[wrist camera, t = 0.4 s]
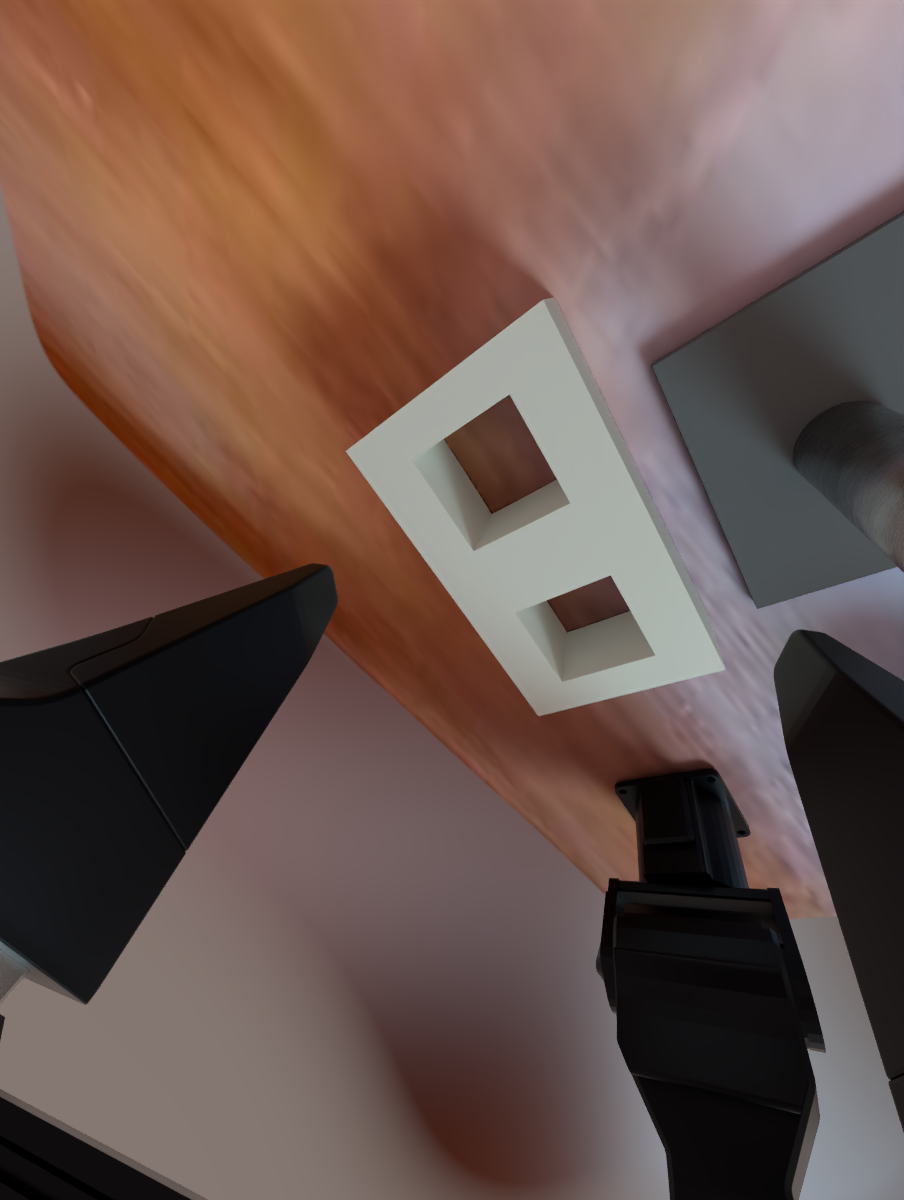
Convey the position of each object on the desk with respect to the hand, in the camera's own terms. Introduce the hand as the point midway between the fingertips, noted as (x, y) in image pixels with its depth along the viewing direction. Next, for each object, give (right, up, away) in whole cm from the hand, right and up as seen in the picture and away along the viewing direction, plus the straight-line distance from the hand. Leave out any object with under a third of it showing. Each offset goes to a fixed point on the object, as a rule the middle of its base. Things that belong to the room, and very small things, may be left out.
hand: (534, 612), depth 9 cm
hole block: (+3, +4, +13) cm, 14 cm away
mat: (+13, +6, +8) cm, 16 cm away
